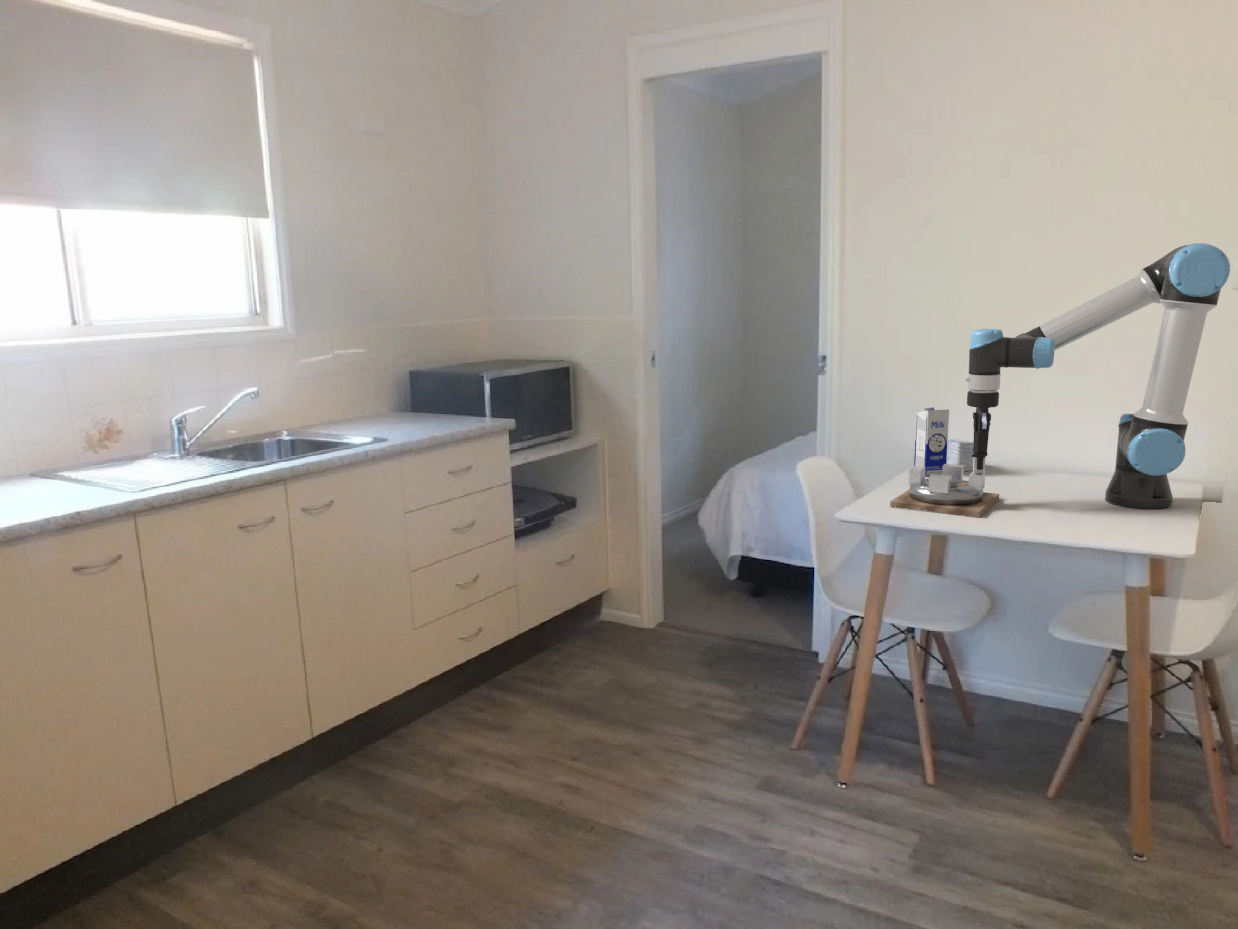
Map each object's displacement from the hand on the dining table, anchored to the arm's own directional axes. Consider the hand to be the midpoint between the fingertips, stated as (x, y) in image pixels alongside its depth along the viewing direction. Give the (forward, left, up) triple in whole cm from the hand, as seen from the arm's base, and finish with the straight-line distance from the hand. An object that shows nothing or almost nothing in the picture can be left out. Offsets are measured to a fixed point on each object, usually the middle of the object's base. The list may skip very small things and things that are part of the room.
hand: (978, 481), depth 241 cm
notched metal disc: (+7, +4, -4) cm, 9 cm away
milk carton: (+21, -31, -6) cm, 38 cm away
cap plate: (+7, +4, -6) cm, 10 cm away
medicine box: (+15, -43, -6) cm, 46 cm away
